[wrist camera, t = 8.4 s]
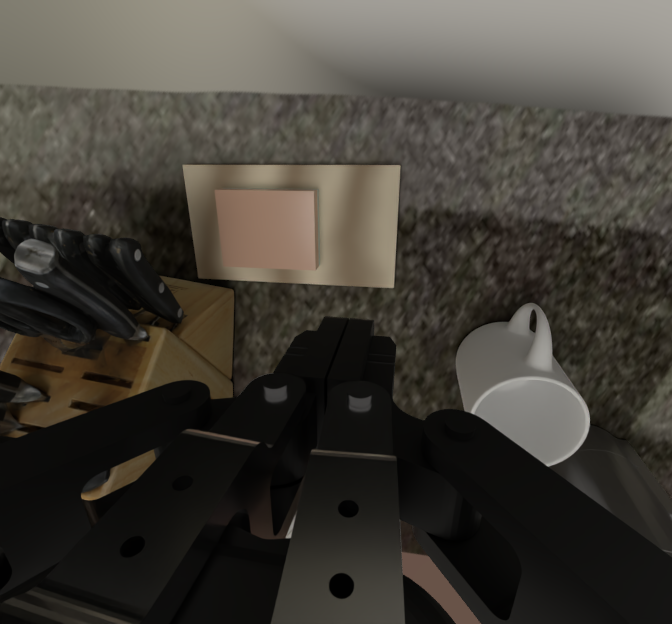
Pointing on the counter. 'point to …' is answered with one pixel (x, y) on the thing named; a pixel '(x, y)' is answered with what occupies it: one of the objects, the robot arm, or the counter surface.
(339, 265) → the board
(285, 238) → the pink rectangular block
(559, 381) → the mug
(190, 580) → the robot arm
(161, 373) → the knife block
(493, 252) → the counter surface
